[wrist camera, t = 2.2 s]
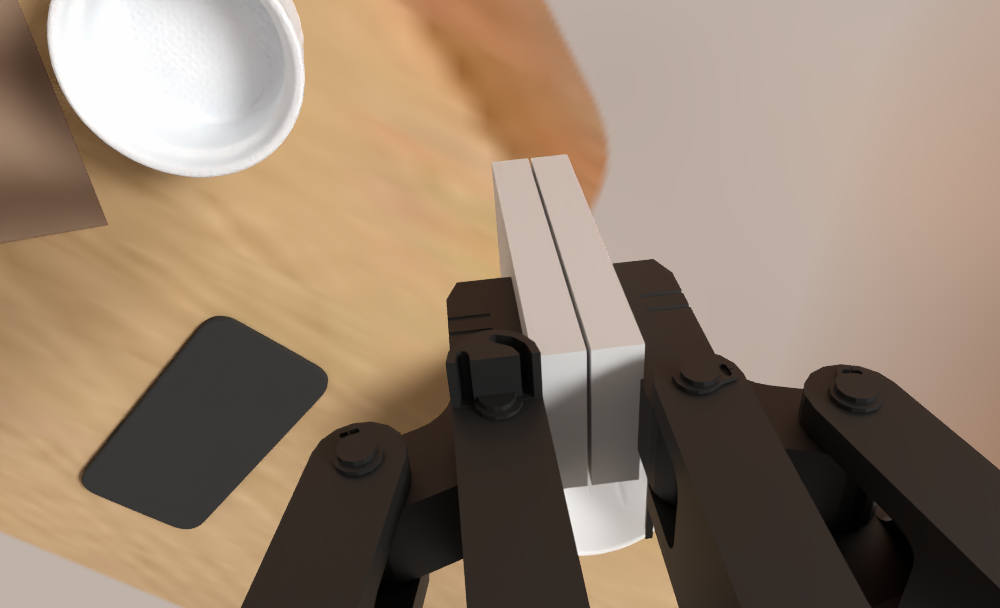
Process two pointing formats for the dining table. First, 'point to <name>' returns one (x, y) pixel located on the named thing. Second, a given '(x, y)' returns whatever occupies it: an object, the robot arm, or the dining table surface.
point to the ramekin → (182, 78)
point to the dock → (36, 145)
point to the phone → (205, 424)
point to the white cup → (607, 514)
